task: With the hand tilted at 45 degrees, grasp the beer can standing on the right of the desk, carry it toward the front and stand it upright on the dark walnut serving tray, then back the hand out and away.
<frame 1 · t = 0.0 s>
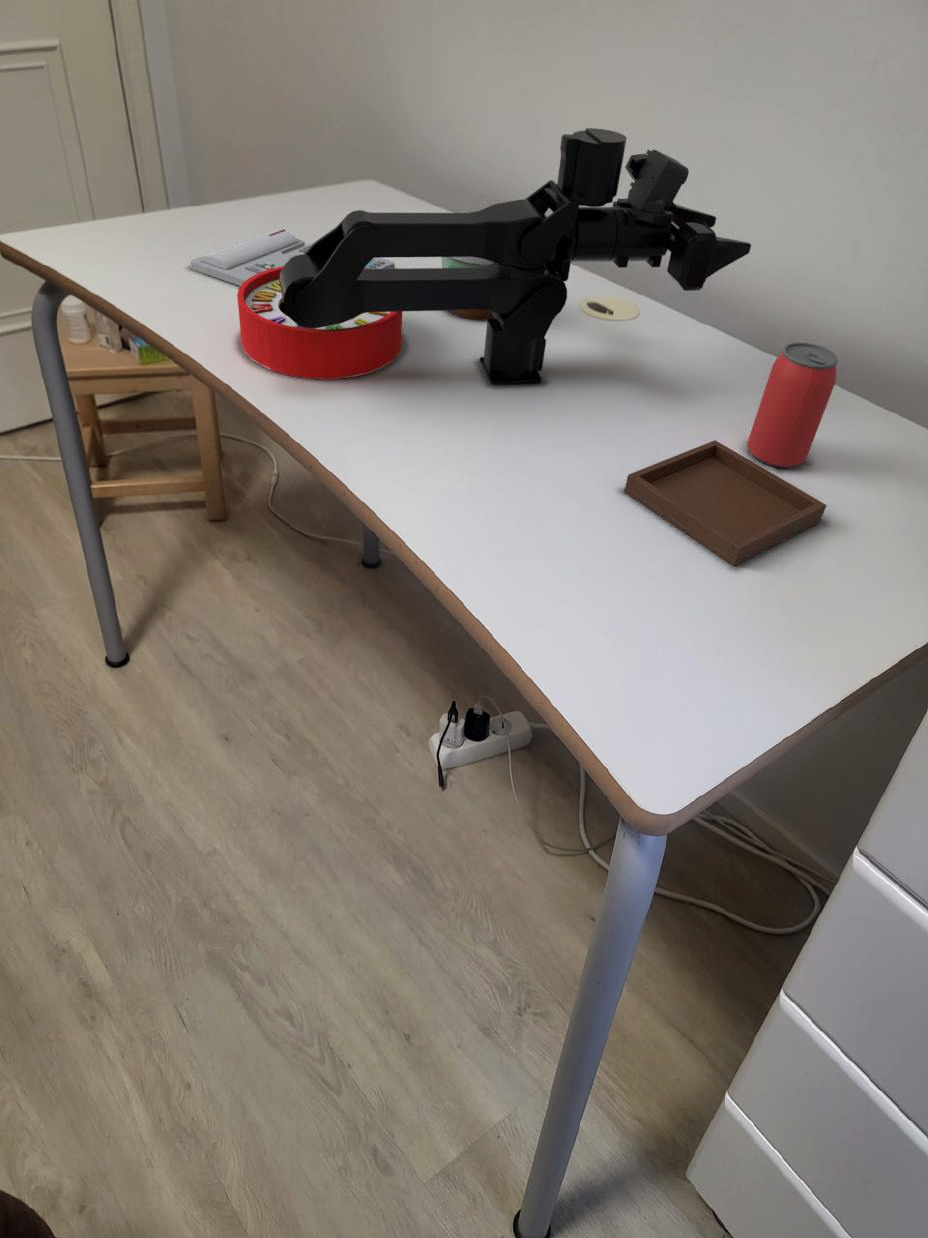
hand: (731, 234, 104), 17 cm above the table, tool horizontal, fingers open, 9 cm apart
office telephone: (297, 272, 129), on the table, touching toy clock
toy clock: (322, 342, 112), on the table, touching office telephone
beer can: (774, 456, 99), on the table
food container: (468, 314, 122), on the table
tray: (721, 506, 90), on the table
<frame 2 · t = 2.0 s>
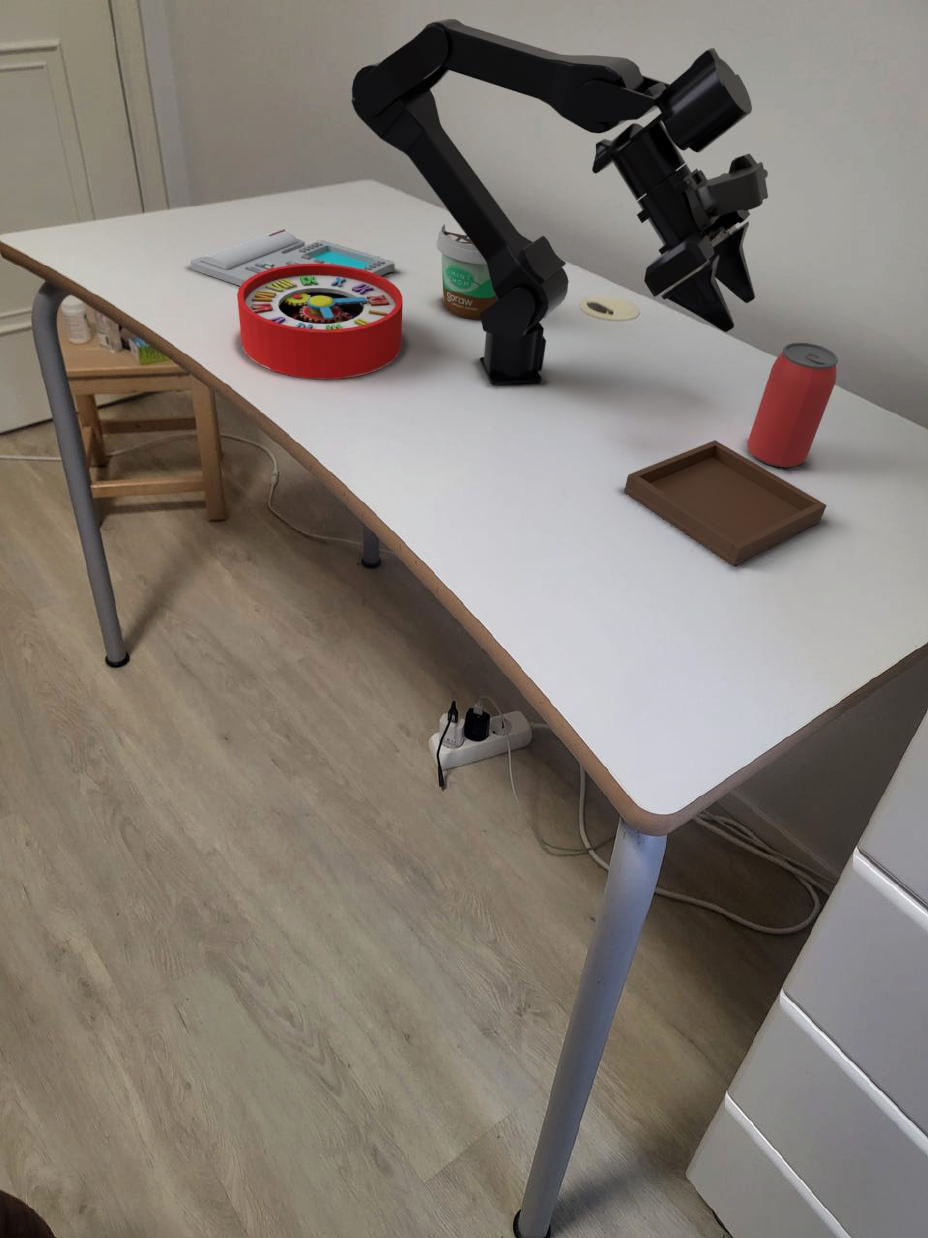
hand: (741, 314, 93), 14 cm above the table, tool tilted 45°, fingers open, 9 cm apart
nothing on the table moved.
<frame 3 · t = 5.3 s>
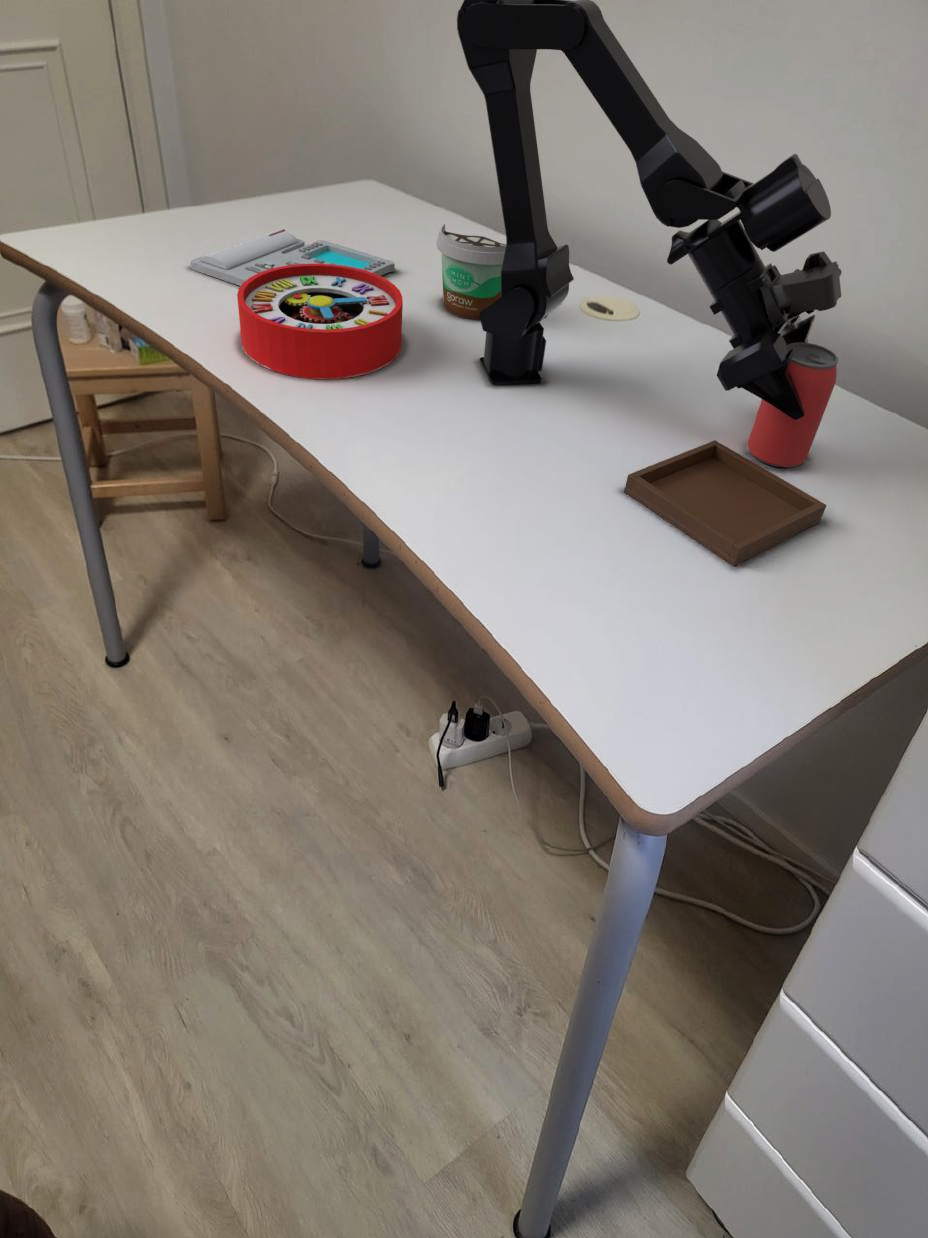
hand: (807, 404, 94), 7 cm above the table, tool tilted 45°, fingers closed on beer can, 6 cm apart
beer can: (774, 456, 99), on the table, touching gripper
everything else where it was.
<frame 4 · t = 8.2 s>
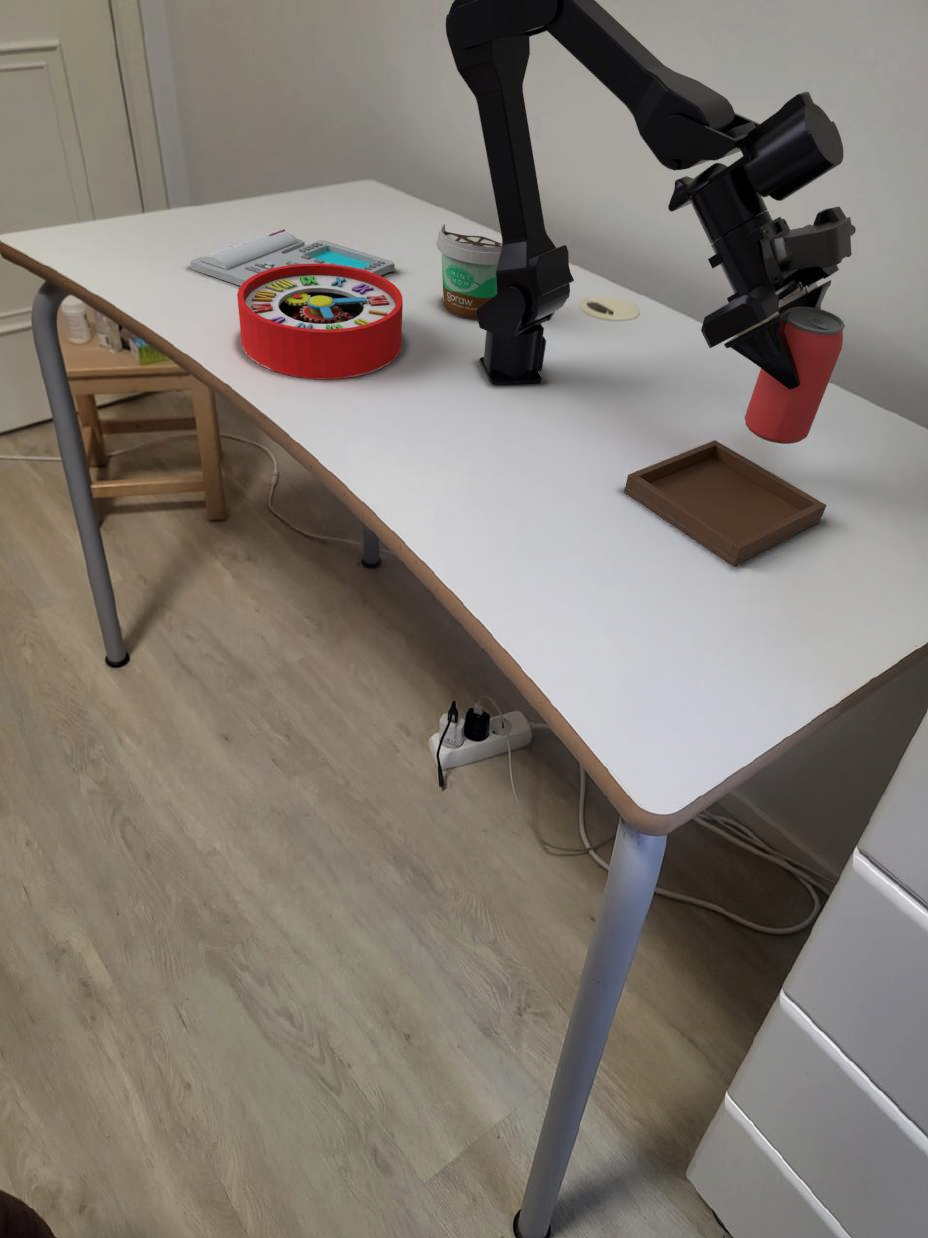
hand: (808, 376, 86), 12 cm above the table, tool tilted 45°, fingers closed on beer can, 6 cm apart
beer can: (773, 431, 92), point 5 cm above the table, touching gripper
everything else where it was.
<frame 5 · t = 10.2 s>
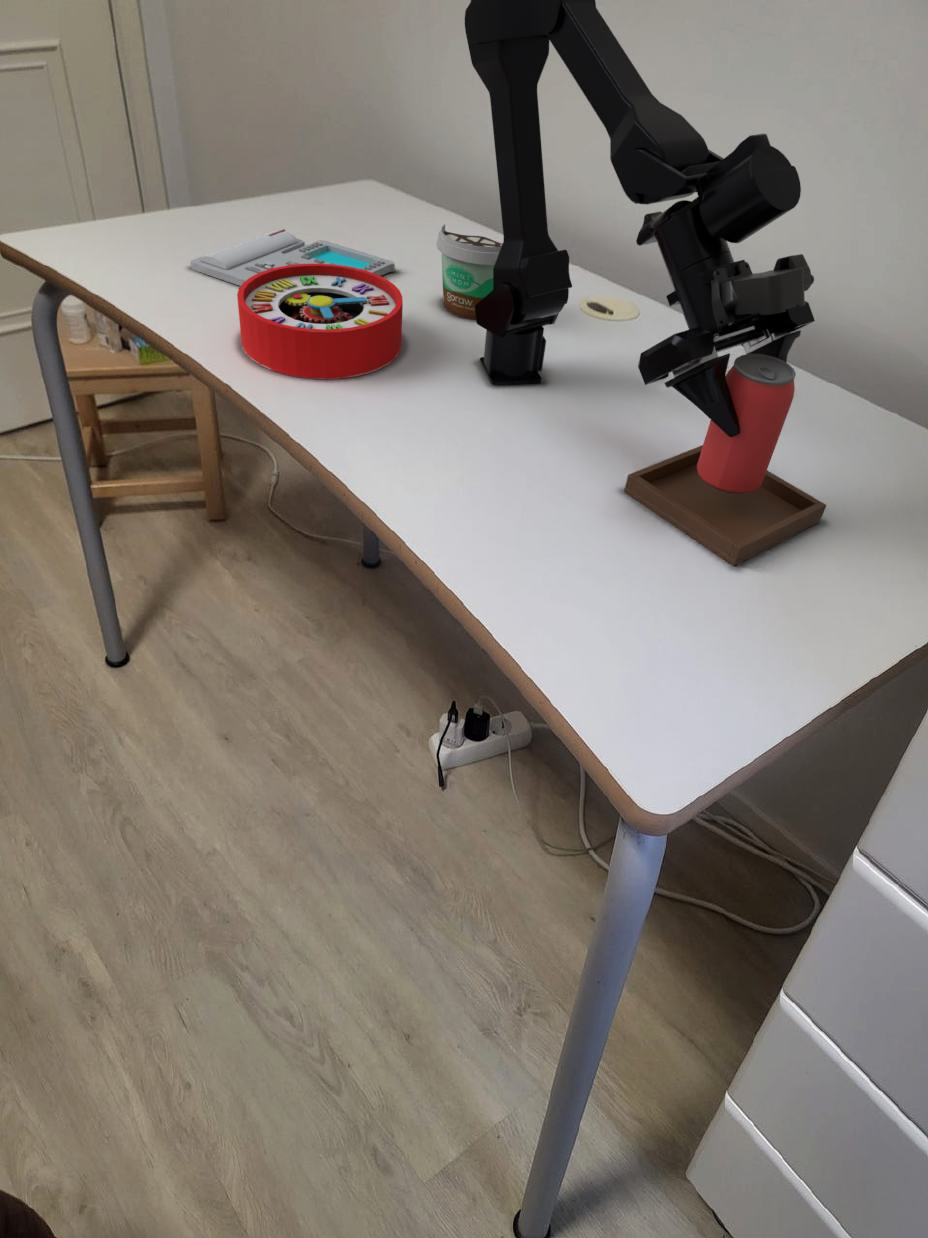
hand: (758, 426, 83), 10 cm above the table, tool tilted 45°, fingers closed on beer can, 6 cm apart
beer can: (727, 480, 88), point 3 cm above the table, touching gripper
everything else where it was.
when the fingers open (7 cm above the table, at t = 11.5 s): beer can stays where it is, resting on tray.
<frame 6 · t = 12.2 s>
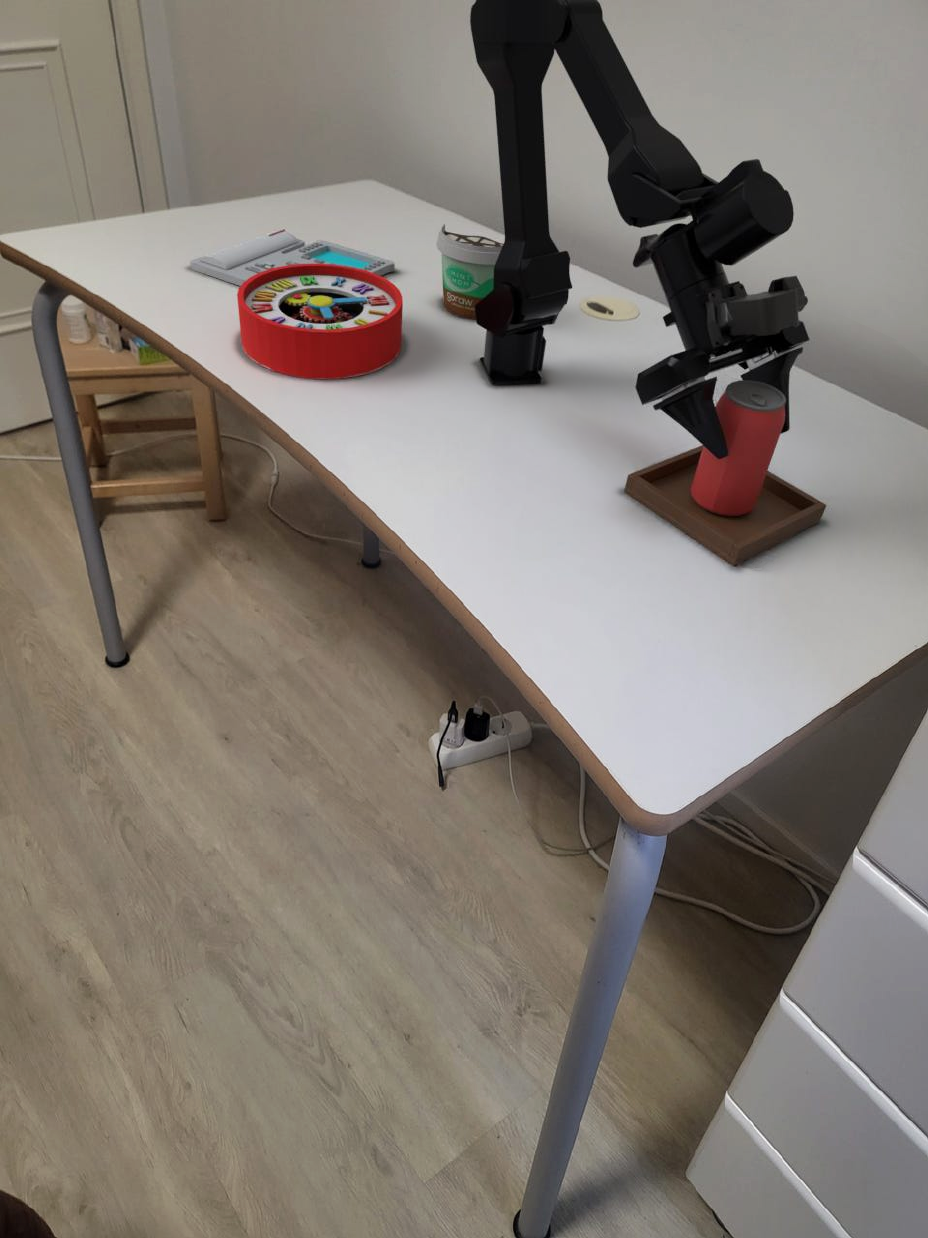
hand: (755, 444, 84), 8 cm above the table, tool tilted 45°, fingers open, 9 cm apart
beer can: (721, 502, 90), resting on tray
everything else where it was.
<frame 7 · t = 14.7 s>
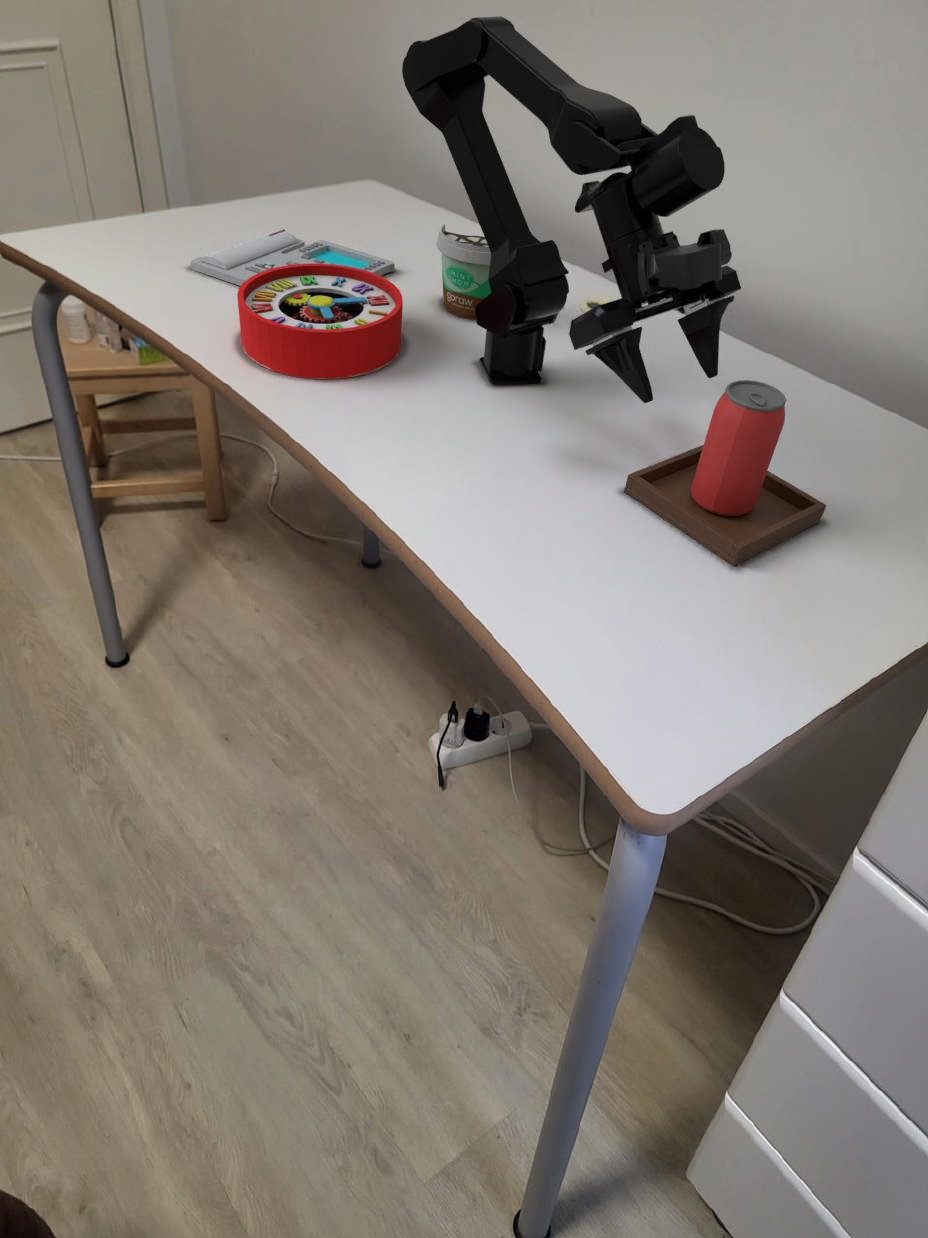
hand: (681, 389, 90), 9 cm above the table, tool tilted 40°, fingers open, 9 cm apart
nothing on the table moved.
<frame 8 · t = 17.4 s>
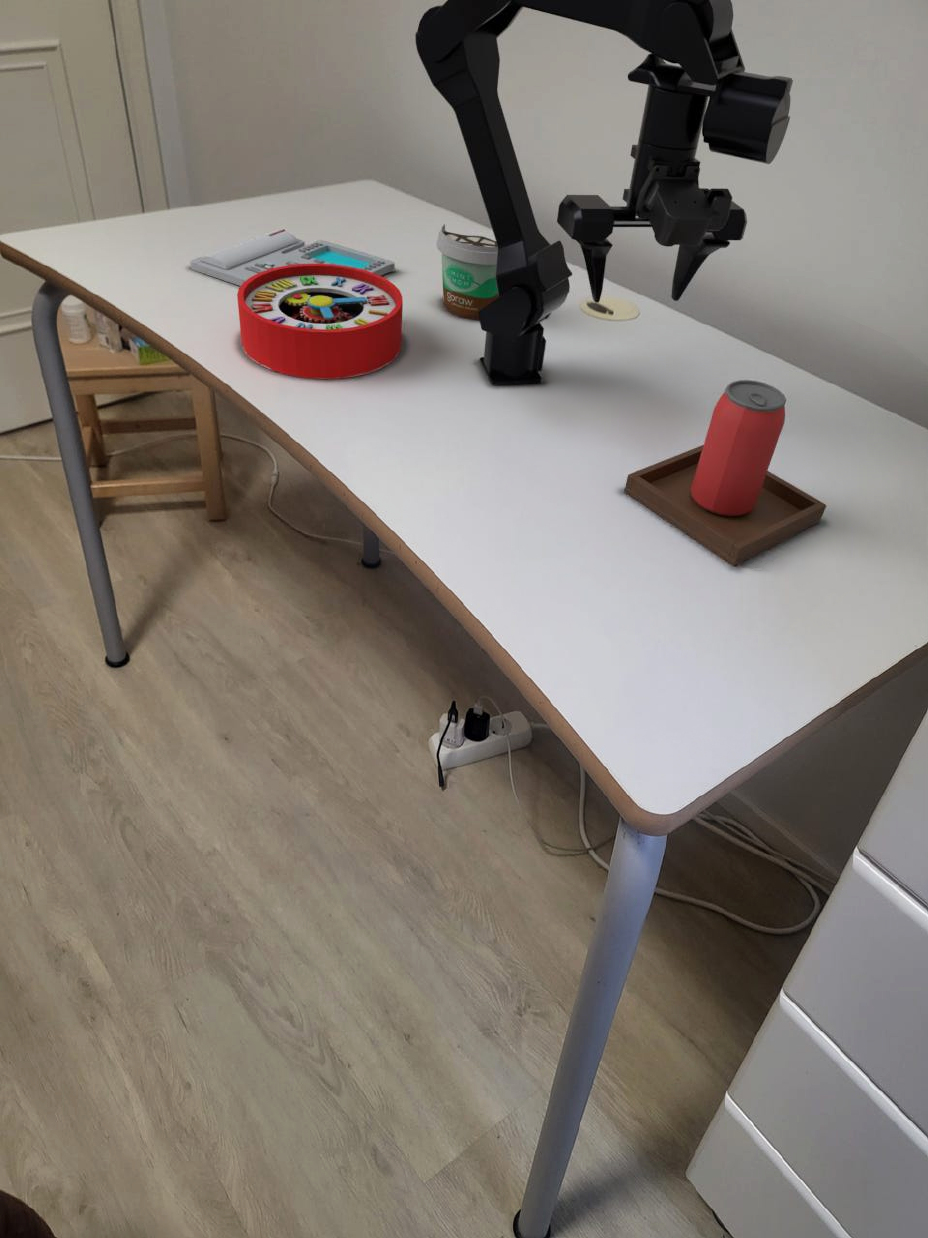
hand: (635, 300, 96), 13 cm above the table, tool pointing down, fingers open, 9 cm apart
nothing on the table moved.
at the end: beer can 0.1 cm off-centre in the tray, point 0.4 cm above the tray's base; beer can tilted 0°; the gripper is holding nothing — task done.
